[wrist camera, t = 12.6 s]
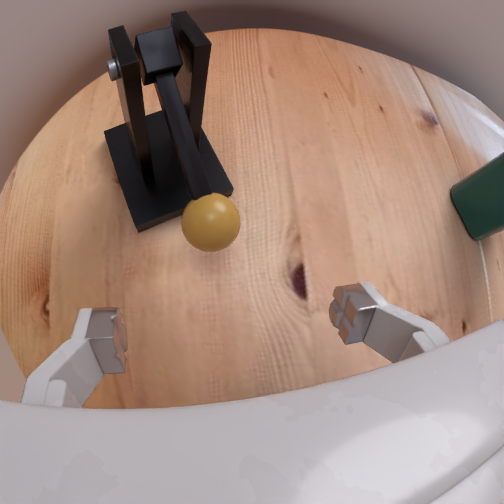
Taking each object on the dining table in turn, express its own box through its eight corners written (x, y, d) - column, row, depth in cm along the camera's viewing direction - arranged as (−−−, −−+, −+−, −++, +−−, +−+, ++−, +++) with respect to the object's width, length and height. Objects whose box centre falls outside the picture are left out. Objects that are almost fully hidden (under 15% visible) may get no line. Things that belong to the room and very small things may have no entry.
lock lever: (235, 233, 21) (257, 243, 18) (188, 253, 20) (200, 268, 17) (174, 43, 16) (185, 19, 13) (122, 57, 15) (123, 33, 12)
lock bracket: (231, 194, 27) (273, 73, 13) (138, 232, 25) (93, 123, 11) (187, 110, 29) (198, -11, 15) (106, 138, 26) (73, 19, 12)
